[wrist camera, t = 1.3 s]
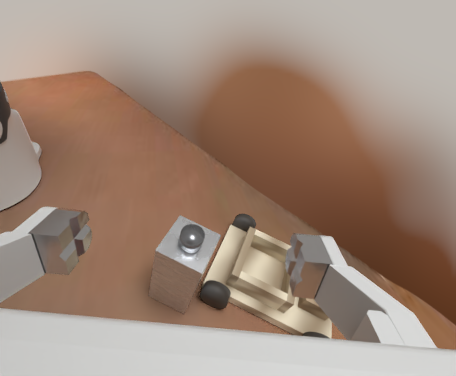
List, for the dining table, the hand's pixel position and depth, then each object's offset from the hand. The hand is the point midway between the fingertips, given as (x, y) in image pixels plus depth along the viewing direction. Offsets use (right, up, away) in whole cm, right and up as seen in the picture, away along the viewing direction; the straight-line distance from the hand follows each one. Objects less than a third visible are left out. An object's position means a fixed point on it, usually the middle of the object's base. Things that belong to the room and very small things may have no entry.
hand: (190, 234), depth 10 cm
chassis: (+8, -12, +27) cm, 31 cm away
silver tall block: (-5, -11, +23) cm, 26 cm away
